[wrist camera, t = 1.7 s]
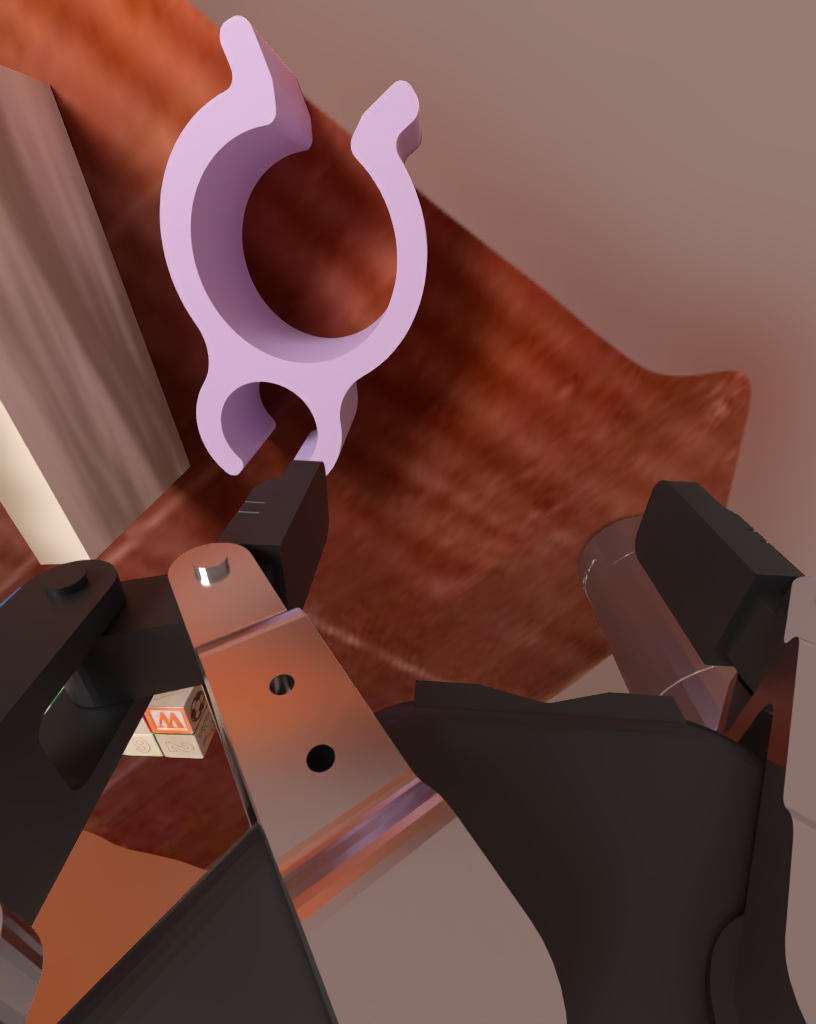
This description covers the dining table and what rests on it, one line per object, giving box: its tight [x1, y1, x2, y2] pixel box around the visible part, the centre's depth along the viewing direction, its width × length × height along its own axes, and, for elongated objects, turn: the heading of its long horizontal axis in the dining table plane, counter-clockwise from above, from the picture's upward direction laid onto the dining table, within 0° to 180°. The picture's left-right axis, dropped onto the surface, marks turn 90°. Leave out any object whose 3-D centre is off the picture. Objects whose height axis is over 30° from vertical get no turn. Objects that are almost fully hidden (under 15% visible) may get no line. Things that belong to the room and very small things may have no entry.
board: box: [0, 65, 190, 564], centre depth 24 cm, size 3×22×12 cm, turn 5°
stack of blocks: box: [0, 587, 216, 758], centre depth 38 cm, size 21×6×12 cm, turn 90°
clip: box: [160, 16, 428, 476], centre depth 26 cm, size 20×12×7 cm, turn 163°
